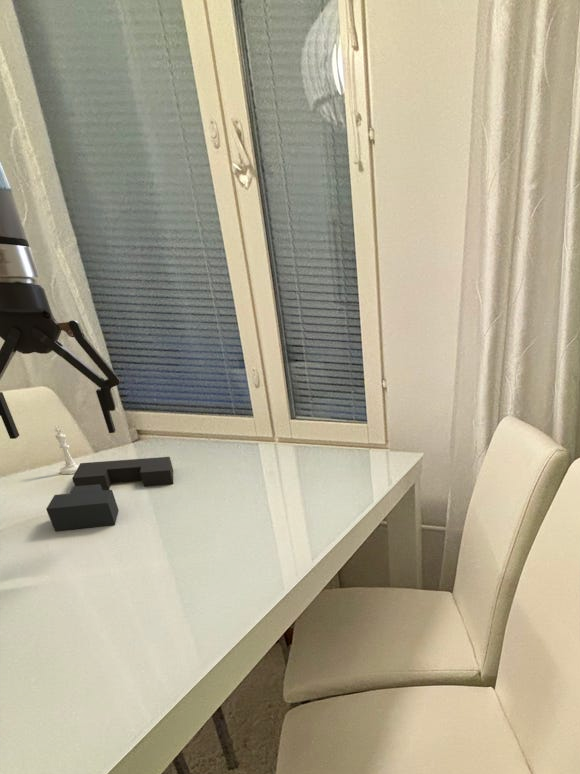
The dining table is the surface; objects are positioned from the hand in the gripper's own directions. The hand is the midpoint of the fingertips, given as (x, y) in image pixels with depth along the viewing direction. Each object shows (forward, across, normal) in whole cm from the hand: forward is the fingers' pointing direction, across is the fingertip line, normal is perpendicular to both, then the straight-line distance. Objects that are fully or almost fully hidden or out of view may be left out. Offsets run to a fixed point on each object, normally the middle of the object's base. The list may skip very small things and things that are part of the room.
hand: (65, 434), depth 91 cm
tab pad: (+15, -1, +4) cm, 16 cm away
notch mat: (+15, +4, +30) cm, 33 cm away
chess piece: (+15, -8, +42) cm, 46 cm away
